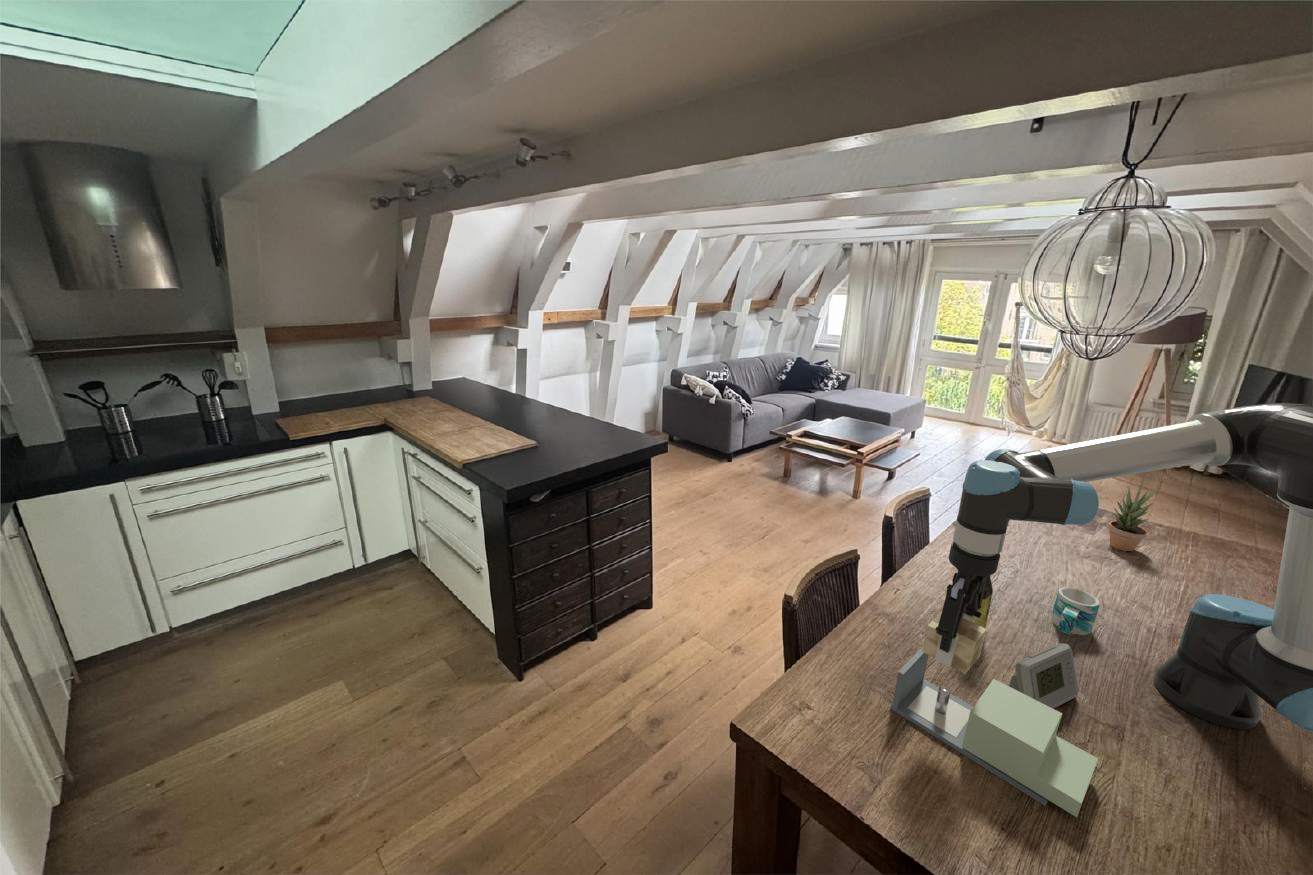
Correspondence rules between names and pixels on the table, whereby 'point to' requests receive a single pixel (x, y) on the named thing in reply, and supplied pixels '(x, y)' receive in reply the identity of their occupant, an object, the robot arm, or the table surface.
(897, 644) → the table surface
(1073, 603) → the mug
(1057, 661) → the digital clock
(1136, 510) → the potted plant
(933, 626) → the birch collar
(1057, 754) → the sage cover
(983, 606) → the sauce bottle
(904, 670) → the housing base
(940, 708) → the steel pin
